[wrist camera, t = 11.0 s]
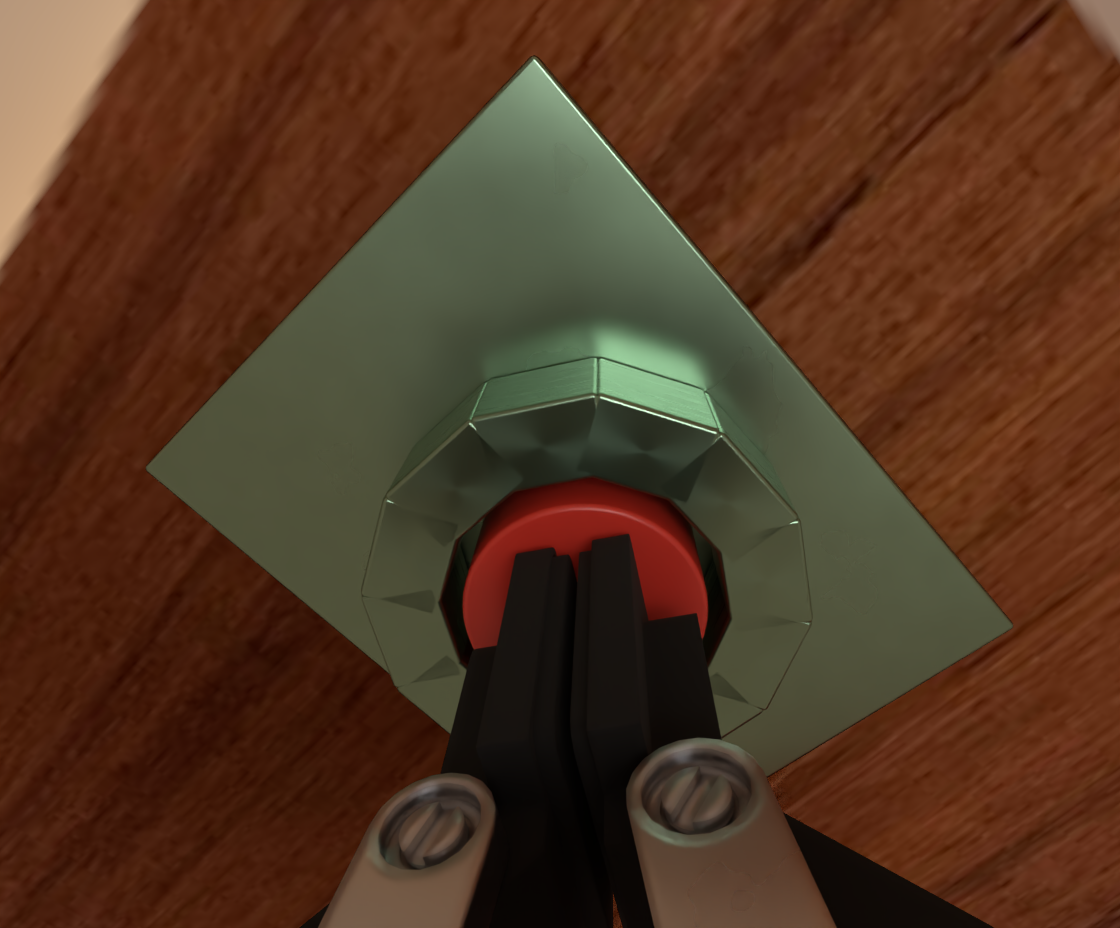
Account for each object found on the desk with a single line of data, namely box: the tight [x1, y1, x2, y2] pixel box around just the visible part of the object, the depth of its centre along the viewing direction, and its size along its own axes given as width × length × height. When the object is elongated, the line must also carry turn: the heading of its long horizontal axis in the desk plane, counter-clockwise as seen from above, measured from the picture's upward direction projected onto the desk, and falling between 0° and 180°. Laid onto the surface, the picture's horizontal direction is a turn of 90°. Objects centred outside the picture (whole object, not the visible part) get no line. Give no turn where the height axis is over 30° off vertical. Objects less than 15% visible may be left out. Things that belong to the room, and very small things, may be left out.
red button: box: [462, 477, 708, 650], centre depth 12 cm, size 4×4×2 cm
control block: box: [146, 55, 1013, 778], centre depth 13 cm, size 12×9×4 cm
